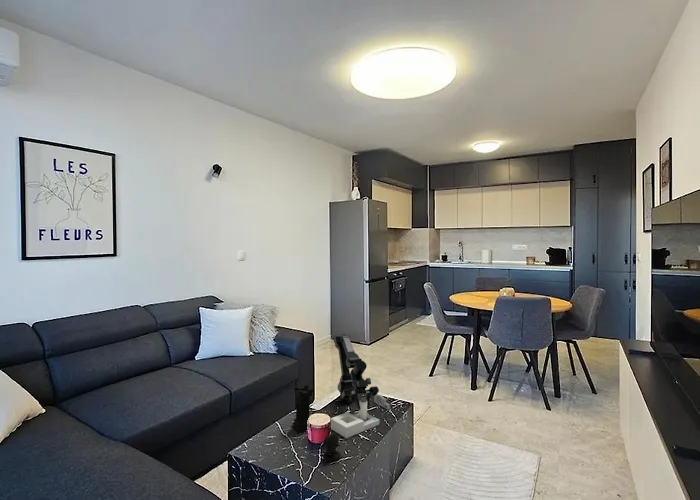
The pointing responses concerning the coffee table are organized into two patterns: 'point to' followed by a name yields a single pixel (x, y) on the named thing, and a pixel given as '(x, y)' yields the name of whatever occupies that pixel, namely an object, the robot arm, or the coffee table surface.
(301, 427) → the chess piece
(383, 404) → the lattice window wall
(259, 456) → the coffee table surface
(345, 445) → the coffee table surface
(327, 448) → the webcam
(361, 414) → the plug
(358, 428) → the jack housing
